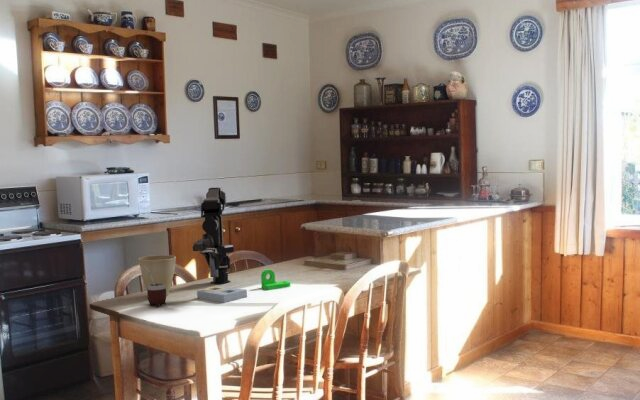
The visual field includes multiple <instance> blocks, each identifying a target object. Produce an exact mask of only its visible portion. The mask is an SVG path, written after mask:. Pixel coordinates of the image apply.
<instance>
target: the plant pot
mask: <svg viewBox="0 0 640 400" xmlns="http://www.w3.org/2000/svg"><path fill="white" fill-rule="evenodd" d="M176 259H177V257H176V256H175V255H170V254H169V255H168V254H166V255H165V254H159V255H157V254H156V255H145V256H141V257H139V258H138V263H139V269H140V273H141V276H142V280H143V283H144V286H145V289H146V291H148V287H149V285H151V284H153V283H152V280H151V277H150V275H149V272H148V271H147V270H146V269H145V268H144V266H145V267H146V268H147V269H148V270H149V271H150V272H151V275H152V278H153V281H154V284H163V285H164V286H165V289H166V297H167V296H168V295H169V292H170V289H171V287H172V282H173V279H174V273H175V269H176V268H175V267H176Z"/></svg>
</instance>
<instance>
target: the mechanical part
mask: <svg viewBox="0 0 640 400" xmlns="http://www.w3.org/2000/svg"><path fill="white" fill-rule="evenodd" d="M268 274H269V278H267V276H268ZM260 281H261V289H264V290H266V291H272V290H278V289H286V288H290V287H291V285H292V284H291V281H289V280H280V281H276V275H275V272H274V270H272V269H269V268H266V269H264V270H263V271H261V275H260Z"/></svg>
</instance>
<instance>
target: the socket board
mask: <svg viewBox="0 0 640 400" xmlns="http://www.w3.org/2000/svg"><path fill="white" fill-rule="evenodd" d="M247 293H248V290H247V289H245V288H238V287H230V286H223V285H218V286H212V287H211V286H210V287H207V288H202V289H200V290H196V294H197V295H196V298H197V299H200V300H205V301H211V302H217V303H222V304H225V303H226V304H227V303H229V302H233V301H237V300H241V299H245V298H247V297H248V294H247Z"/></svg>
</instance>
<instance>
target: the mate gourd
mask: <svg viewBox="0 0 640 400" xmlns="http://www.w3.org/2000/svg"><path fill="white" fill-rule="evenodd" d="M144 268H145V269H146V270H147V271H148V272H149V275H150V277H151V280H152V283H153V284H151V285H149V287H148V291H147V290H146V291H147V292H146V293H147V300H148V307H156V308H159V307H160V306H166V305H167V303H166V299H167V296H166V289H165V286H164V285H163V284H154V281H153V278H152V275H151V272H150V271H149V270H148V269H147V268H146V267H145V266H144Z"/></svg>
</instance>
